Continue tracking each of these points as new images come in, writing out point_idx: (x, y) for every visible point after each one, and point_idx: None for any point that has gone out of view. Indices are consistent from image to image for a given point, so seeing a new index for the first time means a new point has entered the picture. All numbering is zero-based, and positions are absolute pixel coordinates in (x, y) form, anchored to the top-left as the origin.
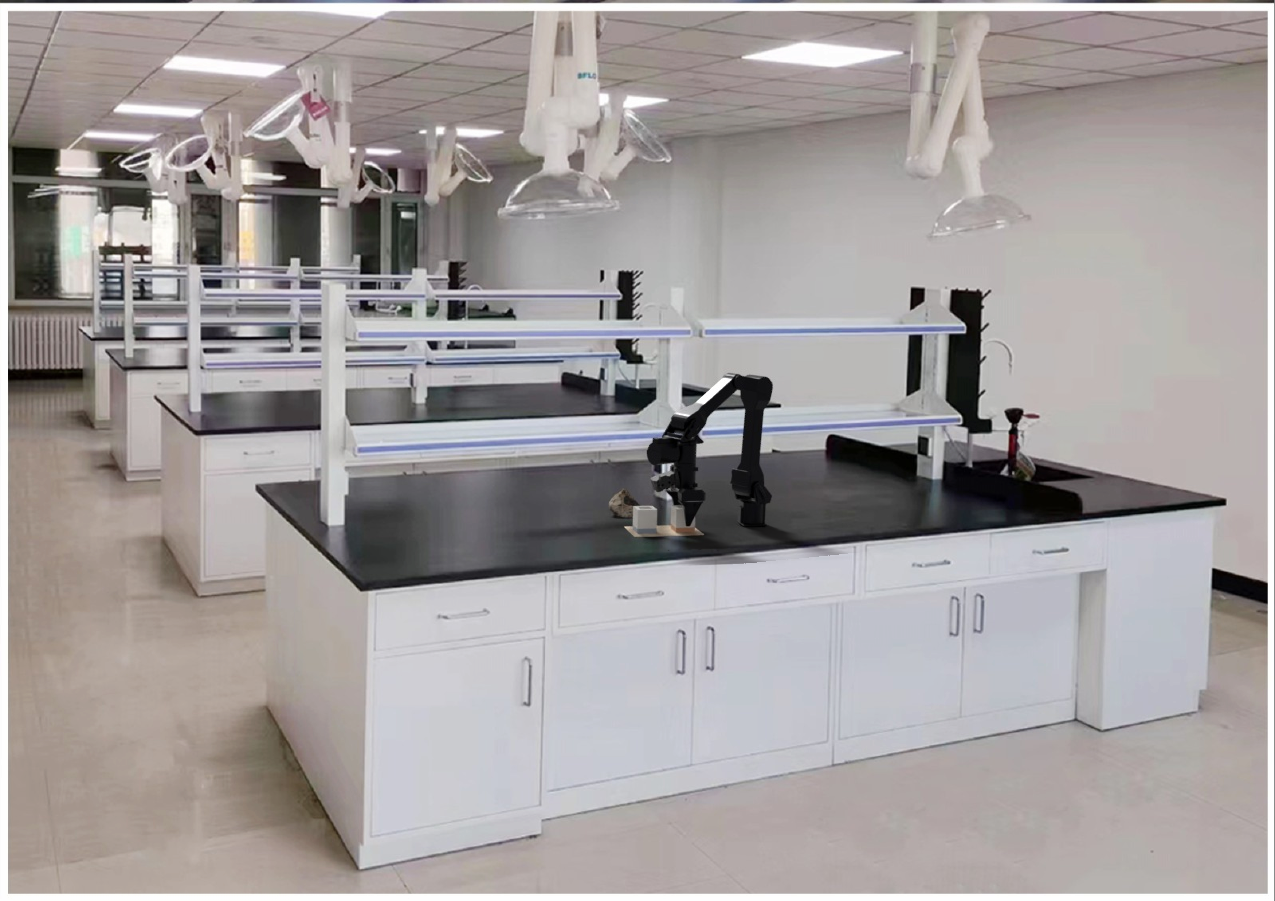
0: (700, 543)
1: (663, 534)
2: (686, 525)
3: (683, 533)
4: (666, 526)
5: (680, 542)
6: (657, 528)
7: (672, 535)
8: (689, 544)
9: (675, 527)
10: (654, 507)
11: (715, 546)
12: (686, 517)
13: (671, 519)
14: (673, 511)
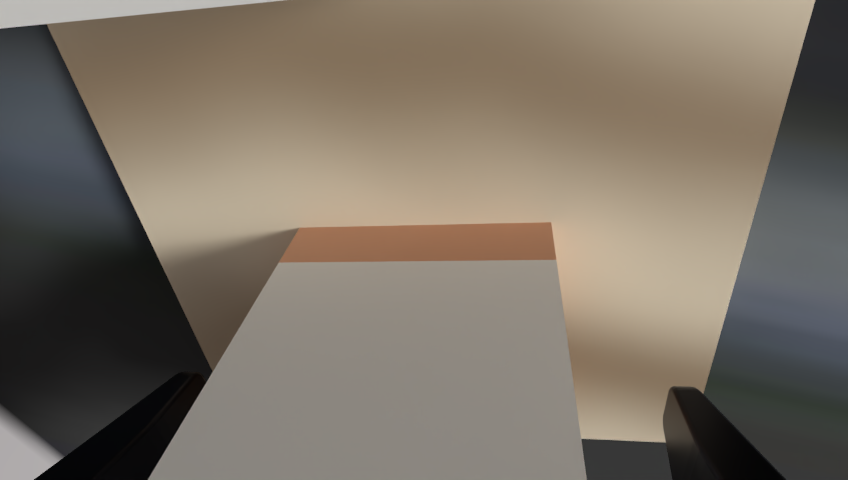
0: (108, 334)
1: (149, 48)
2: (176, 380)
3: (261, 290)
4: (681, 194)
5: (85, 193)
6: (566, 29)
7: (123, 157)
8: (34, 250)
9: (299, 262)
10: (182, 6)
11: (49, 393)
12: (59, 473)
13: (526, 307)
14: (387, 442)
